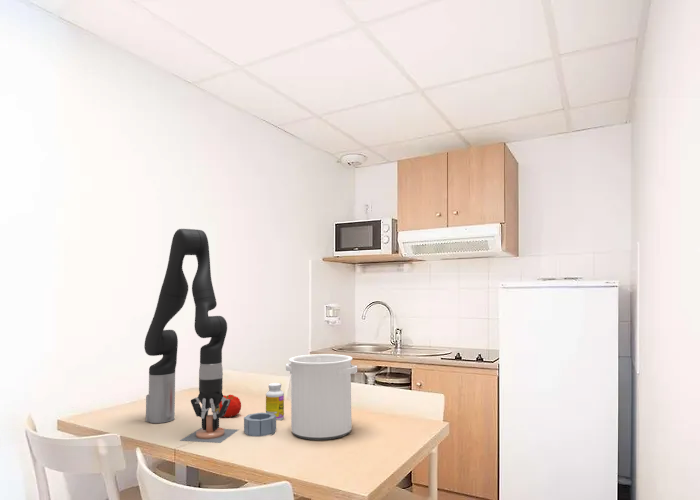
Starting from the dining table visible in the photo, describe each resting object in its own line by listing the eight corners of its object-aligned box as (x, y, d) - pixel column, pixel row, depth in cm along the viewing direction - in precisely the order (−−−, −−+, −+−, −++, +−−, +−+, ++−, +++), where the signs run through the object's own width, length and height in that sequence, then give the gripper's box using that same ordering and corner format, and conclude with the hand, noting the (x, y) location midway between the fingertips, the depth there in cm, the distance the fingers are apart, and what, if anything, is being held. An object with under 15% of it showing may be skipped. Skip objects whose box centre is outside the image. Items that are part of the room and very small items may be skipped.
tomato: (230, 421, 177) (230, 400, 177) (206, 418, 181) (206, 398, 181) (247, 413, 187) (247, 394, 187) (223, 411, 191) (223, 392, 191)
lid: (190, 438, 155) (191, 418, 155) (204, 430, 163) (204, 411, 164) (217, 439, 153) (217, 419, 153) (228, 431, 162) (229, 412, 162)
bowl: (240, 437, 157) (240, 420, 158) (252, 428, 167) (252, 412, 167) (269, 438, 155) (268, 421, 156) (279, 429, 165) (279, 413, 166)
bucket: (367, 425, 168) (366, 355, 170) (346, 445, 148) (345, 364, 150) (300, 420, 177) (300, 352, 178) (272, 437, 156) (272, 361, 158)
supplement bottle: (280, 422, 174) (280, 386, 175) (263, 421, 175) (263, 385, 176) (286, 417, 181) (286, 382, 182) (269, 416, 182) (269, 382, 183)
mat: (179, 442, 153) (179, 440, 153) (201, 429, 166) (201, 427, 166) (220, 444, 150) (220, 442, 150) (239, 431, 164) (239, 429, 164)
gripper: (185, 378, 157) (184, 432, 156) (225, 379, 155) (225, 434, 153) (197, 374, 165) (196, 425, 163) (235, 374, 162) (235, 427, 161)
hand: (210, 429), depth 158 cm, fingers closed on lid, 3 cm apart
